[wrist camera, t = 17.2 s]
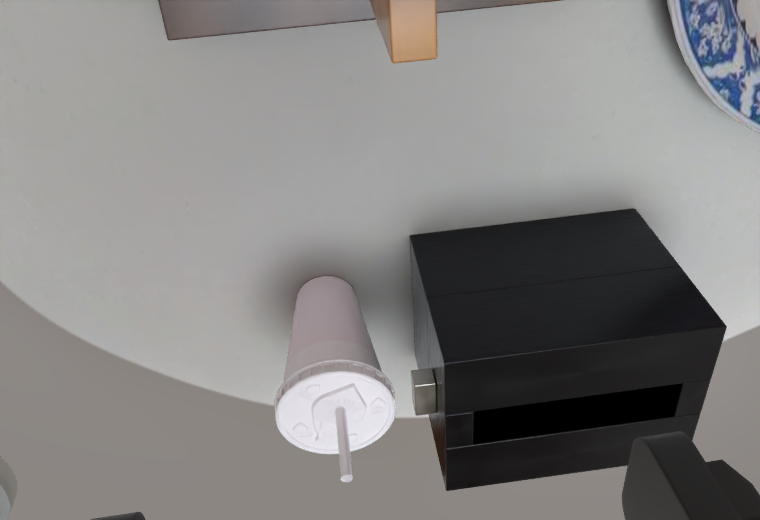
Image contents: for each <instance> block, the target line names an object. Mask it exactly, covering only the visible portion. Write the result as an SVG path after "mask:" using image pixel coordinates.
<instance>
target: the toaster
mask: <svg viewBox="0 0 760 520" xmlns="http://www.w3.org/2000/svg"><path fill="white" fill-rule="evenodd" d="M410 254H411V275H412V296H413V317H414V338H415V357H416V361H417V365H418V370H412V371H411V378H412V397H413V404H414V409H415V414H416V415H417V416H418V415H425V414H429V418H430V422H431V427H432V430H433V435H434V440H435V444H436V448H437V453H438V457H439V462H440V466H441V470H442V475H443V479H444V484H445V488H446V490H447V491H449V490H457V489H464V488H471V487H478V486H484V485H485V486H486V485H492V484H499V483H507V482H513V481H521V480H528V479H535V478H542V477H549V476H556V475H563V474H570V473H578V472H585V471H592V470H599V469H606V468H613V467H620V466H627V465H628V463H629V458H630V453H631V448H632V444H633V441H634V440H635V439H636V438H638V437H645V436H651V435H658V434H664V433H671V432H677V431H681V432H684V433H685V434H686V435H688V437H689V438H690V439H691V440H693V436H694V433H695V430H696V426H697V423H698V419H699V416H700V413H701V410H702V407H703V403H704V400H705V397H706V393H707V390H708V387H709V383H710V379H711V377H712V374H713V370H714V367H715V364H716V361H717V357H718V354H719V351H720V347H721V344H722V341H723V337H724V334H725V331H726V325H725V324H724V322H723V321H722V320H721V319H720V317H719V316H718V315H717V313H716V312H715V311H714V310H713V308H712V307H711V306H710V304H709V303H708V302H707V301H706V299H705V298H704V297H703V295H702V294H701V293H700V292H699V290H698V289H697V288H696V286H695V285H694V284H693V282H692V281H691V280H690V279H689V277H688V276H687V275H686V273H685V272H684V271H683V270H682V268H681V267H680V266H679V264H678V263H677V262H676V261H675V259H674V258H673V257H672V255H671V254H670V253H669V252H668V250H667V249H666V248H665V246H664V245H663V244H662V243H661V241H660V240H659V239H658V237H657V236H656V235H655V234H654V232H653V231H652V230H651V228H650V227H649V226H648V225H647V223H646V222H645V221H644V219H643V218H642V217H641V215H640V214H639V213H638V212H637V210H636V209H629V210H621V211H613V212H604V213H596V214H588V215H579V216H571V217H563V218H554V219H546V220H538V221H529V222H521V223H513V224H504V225H496V226H488V227H479V228H471V229H463V230H454V231H446V232H438V233H429V234H421V235H413V236H410Z"/></svg>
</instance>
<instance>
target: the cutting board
mask: <svg viewBox="0 0 760 520" xmlns="http://www.w3.org/2000/svg"><path fill="white" fill-rule="evenodd" d="M158 1H159V5H160V9H161V13H162V17H163V22H164V26H165V30H166V34H167V38H168V40H179V39H188V38H198V37H208V36H218V35H228V34H237V33H247V32H257V31H267V30H277V29H286V28H296V27H306V26H316V25H326V24H335V23H345V22H355V21H365V20H374V19H376V18H375V15H374V12H373V9H372V7H371V4H370V1H369V0H158ZM436 1H437V13H443V12H453V11H463V10H472V9H482V8H492V7H502V6H512V5H521V4H531V3H541V2H551V1H560V0H436Z"/></svg>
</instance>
